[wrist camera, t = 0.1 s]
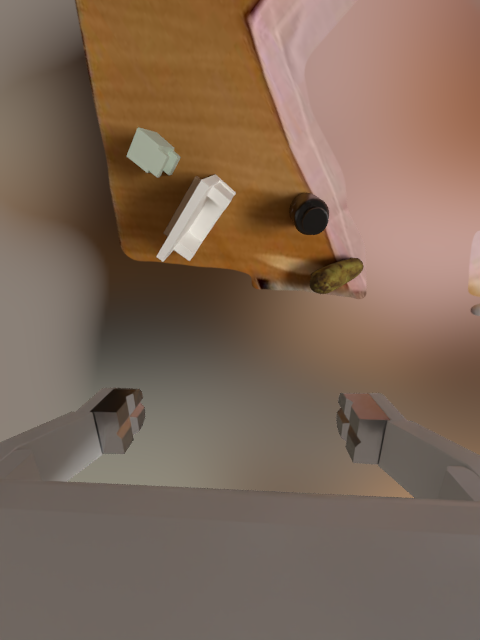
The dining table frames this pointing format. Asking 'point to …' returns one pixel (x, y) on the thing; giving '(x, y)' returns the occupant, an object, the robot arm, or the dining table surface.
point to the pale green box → (152, 153)
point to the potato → (335, 275)
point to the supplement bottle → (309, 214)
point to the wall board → (196, 216)
